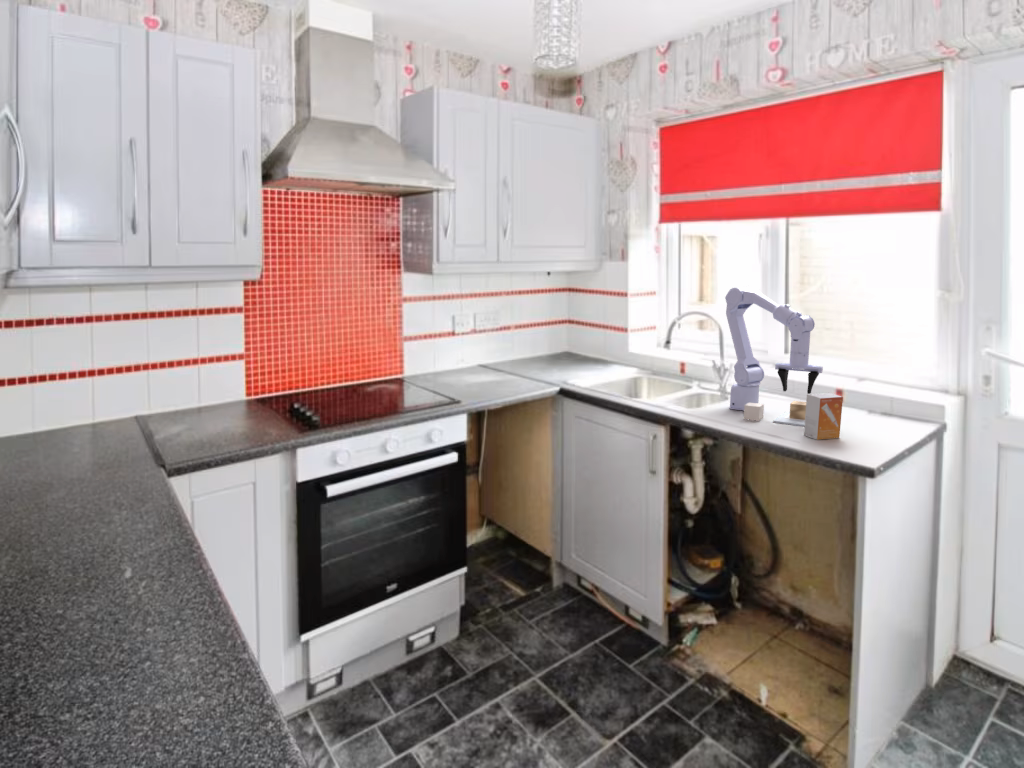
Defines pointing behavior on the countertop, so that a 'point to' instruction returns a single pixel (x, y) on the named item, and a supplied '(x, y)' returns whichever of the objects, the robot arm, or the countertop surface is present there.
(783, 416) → the board
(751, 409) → the top cube
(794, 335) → the robot arm
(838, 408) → the small box
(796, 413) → the base cube
